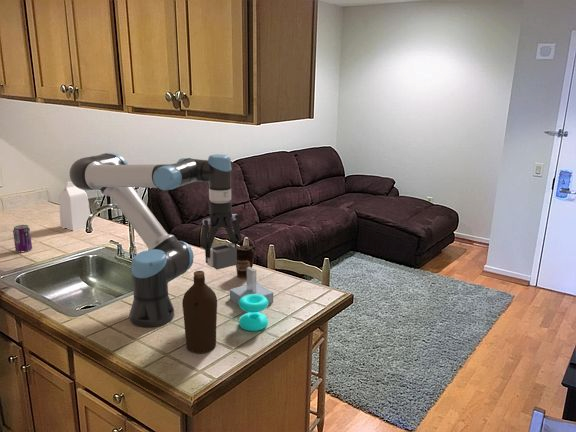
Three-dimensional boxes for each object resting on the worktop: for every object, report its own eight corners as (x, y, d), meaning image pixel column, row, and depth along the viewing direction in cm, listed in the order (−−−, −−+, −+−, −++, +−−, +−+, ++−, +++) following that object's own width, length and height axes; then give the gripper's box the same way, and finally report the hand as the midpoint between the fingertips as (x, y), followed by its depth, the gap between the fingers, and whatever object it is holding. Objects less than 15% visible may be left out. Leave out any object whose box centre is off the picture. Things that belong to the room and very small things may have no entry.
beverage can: (33, 251, 232) (30, 227, 229) (16, 253, 228) (13, 229, 225) (31, 247, 238) (28, 223, 235) (15, 249, 234) (11, 225, 231)
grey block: (216, 269, 165) (216, 253, 164) (205, 262, 171) (205, 246, 170) (236, 264, 170) (236, 248, 168) (225, 258, 176) (225, 242, 175)
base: (246, 310, 177) (246, 300, 176) (229, 298, 187) (229, 289, 185) (273, 302, 185) (273, 292, 183) (255, 291, 194) (255, 282, 193)
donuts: (243, 291, 170) (270, 294, 168) (243, 317, 172) (270, 320, 171) (235, 303, 160) (264, 306, 159) (235, 330, 163) (264, 334, 161)
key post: (252, 293, 182) (252, 271, 180) (246, 289, 186) (246, 267, 183) (256, 292, 183) (256, 270, 181) (250, 288, 187) (250, 266, 184)
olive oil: (222, 349, 151) (221, 275, 145) (189, 358, 146) (187, 281, 140) (211, 334, 160) (209, 263, 154) (180, 341, 155) (176, 269, 149)
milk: (73, 231, 263) (68, 184, 256) (60, 227, 269) (55, 181, 262) (92, 226, 273) (88, 181, 266) (79, 222, 279) (75, 178, 272)
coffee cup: (251, 280, 204) (251, 251, 200) (232, 278, 205) (231, 249, 202) (256, 273, 212) (256, 245, 209) (238, 271, 214) (238, 243, 210)
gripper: (198, 207, 155) (199, 273, 162) (252, 198, 168) (251, 260, 174) (187, 202, 161) (189, 266, 167) (240, 194, 173) (240, 254, 180)
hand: (221, 263), depth 171 cm, fingers closed on grey block, 8 cm apart
